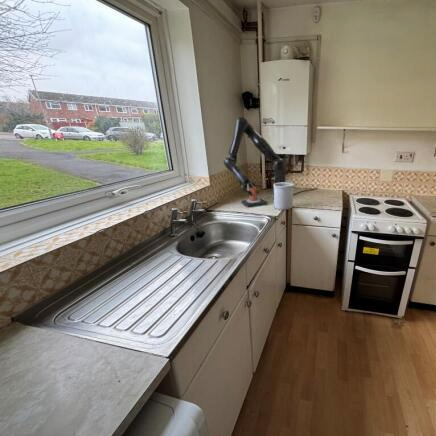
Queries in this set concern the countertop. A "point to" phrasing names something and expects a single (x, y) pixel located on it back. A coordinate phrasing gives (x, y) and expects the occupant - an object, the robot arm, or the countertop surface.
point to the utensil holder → (283, 195)
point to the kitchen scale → (254, 202)
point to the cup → (254, 192)
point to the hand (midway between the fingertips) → (254, 194)
